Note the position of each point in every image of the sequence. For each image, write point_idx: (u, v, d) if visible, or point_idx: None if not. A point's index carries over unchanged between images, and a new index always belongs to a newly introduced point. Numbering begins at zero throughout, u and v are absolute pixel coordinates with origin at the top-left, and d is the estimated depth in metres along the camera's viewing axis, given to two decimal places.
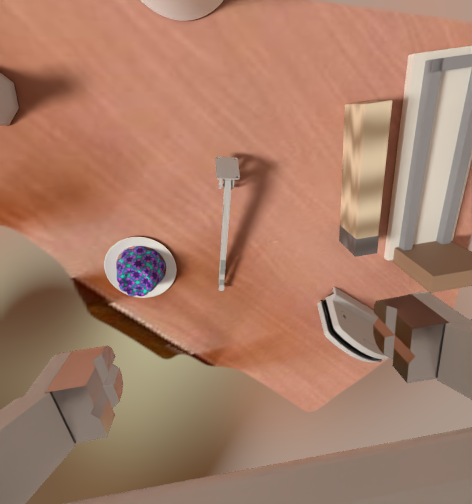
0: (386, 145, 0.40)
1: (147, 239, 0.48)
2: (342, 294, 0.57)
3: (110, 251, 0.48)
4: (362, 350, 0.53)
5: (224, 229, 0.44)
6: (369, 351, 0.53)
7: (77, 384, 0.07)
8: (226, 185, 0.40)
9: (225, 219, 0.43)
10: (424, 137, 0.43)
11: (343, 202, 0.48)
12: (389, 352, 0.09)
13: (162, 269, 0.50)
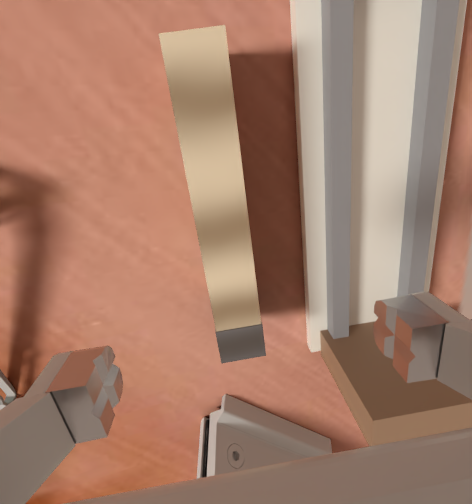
0: (235, 136, 0.17)
1: None
2: (238, 408, 0.32)
3: None
4: None
5: None
6: None
7: (77, 384, 0.07)
8: None
9: None
10: (338, 125, 0.21)
11: None
12: (389, 352, 0.09)
13: None
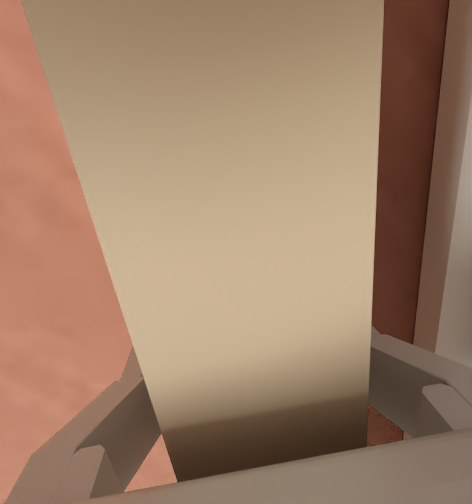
0: (365, 144, 0.03)
1: None
2: None
3: None
4: None
5: None
6: None
7: None
8: None
9: None
10: None
11: None
12: None
13: None
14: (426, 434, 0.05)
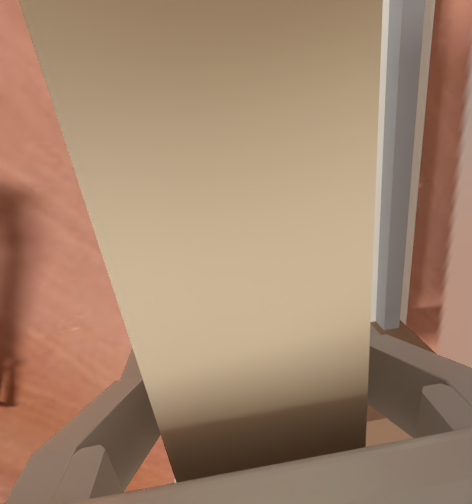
0: (364, 147, 0.03)
1: None
2: None
3: None
4: None
5: None
6: None
7: None
8: None
9: None
10: None
11: None
12: None
13: None
14: (426, 434, 0.05)
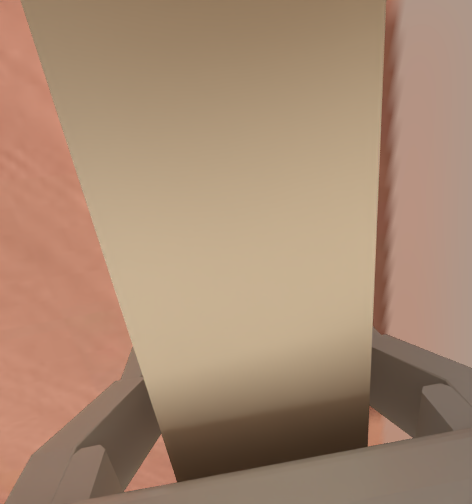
0: (366, 149, 0.03)
1: None
2: None
3: None
4: None
5: None
6: None
7: None
8: None
9: None
10: None
11: None
12: None
13: None
14: (426, 434, 0.05)
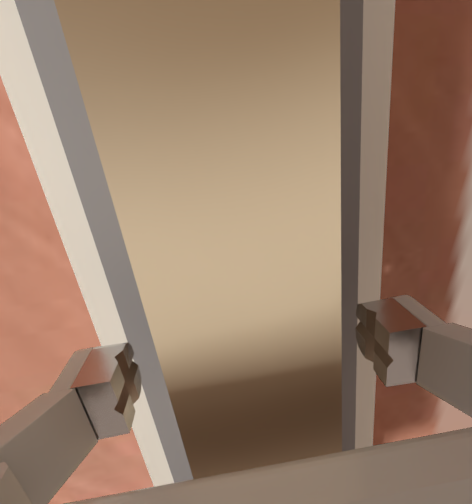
0: (330, 146, 0.04)
1: None
2: None
3: None
4: None
5: None
6: None
7: (102, 380, 0.07)
8: None
9: None
10: (93, 180, 0.08)
11: None
12: (370, 355, 0.09)
13: None
14: None
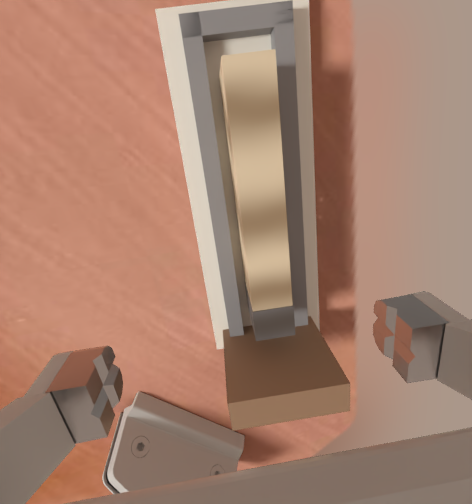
0: (279, 139, 0.21)
1: None
2: (149, 404, 0.36)
3: None
4: None
5: None
6: None
7: (77, 385, 0.07)
8: None
9: None
10: (206, 153, 0.25)
11: (241, 245, 0.28)
12: (389, 352, 0.09)
13: None
14: None
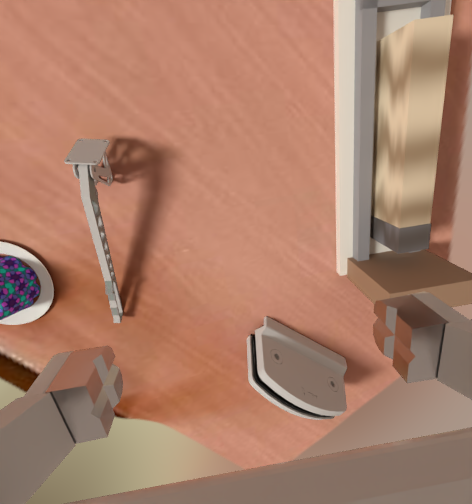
0: (443, 85, 0.27)
1: (27, 253, 0.36)
2: (276, 326, 0.43)
3: None
4: (299, 405, 0.38)
5: (94, 237, 0.32)
6: (309, 406, 0.39)
7: (77, 384, 0.07)
8: (81, 173, 0.28)
9: (91, 222, 0.31)
10: (365, 102, 0.32)
11: (377, 182, 0.35)
12: (389, 352, 0.09)
13: (31, 296, 0.37)
14: None
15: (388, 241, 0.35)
